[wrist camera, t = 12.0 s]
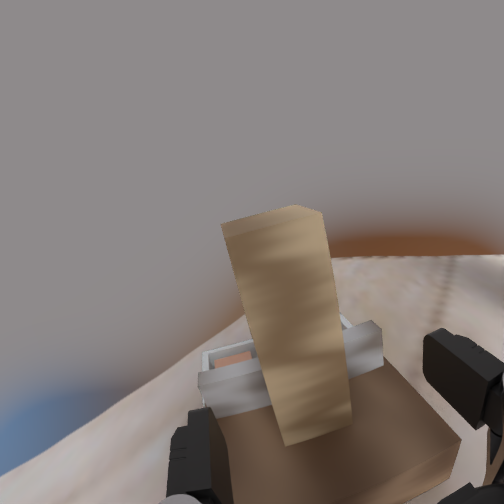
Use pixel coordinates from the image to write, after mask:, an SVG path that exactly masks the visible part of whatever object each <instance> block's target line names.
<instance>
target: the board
mask: <svg viewBox="0 0 504 504" xmlns="http://www.w3.org/2000/svg"><path fill="white" fill-rule="evenodd" d="M383 362H384V365H383V366H381V367H378V368H376V369H374V370H371V371H369V372H366V373H364V374H361V375H359V376H356V377H353V378H351V379H348V380H349V390H350V399H351V409H352V420H353V424H351V425H348V426H346V427H343V428H340V429H338V430H335V431H332V432H329V433H327V434H324V435H321V436H318V437H315V438H312V439H309V440H306V441H302V442H299V443H296V444H293V445H289V446H286V447H285V444H284V441H283V438H282V435H281V432H280V429H279V425H278V422H277V419H276V416H275V413H274V409H273V406H272V405H269V406H266V407H262V408H258V409H255V410H251V411H247V412H243V413H239V414H235V415H231V416H227V417H222V418H218V419H216V420H217V422H218V424H219V426H220V429H221V431H222V433H223V435H224V438H225V441H226V444H227V448H228V456H229V466H230V475H231V484H232V492H233V501H234V504H403V503H405V502H407V501H409V500H411V499H413V498H415V497H416V496H418V495H420V494H422V493H424V492H426V491H428V490H429V489H431V488H433V487H435V486H437V485H438V484H440V483H442V482H443V481H445V480H447V479H448V478H449V477H450V474H451V472H452V469H453V466H454V463H455V460H456V457H457V453H458V450H459V447H460V443H461V439H460V437H459V436H458V435H457V434H456V433H455V432H454V431H453V430H452V429H451V428H450V427H449V425H448V424H447V423H446V422H445V421H444V420H443V419H442V418H441V417H440V416H439V415H438V414H437V412H436V411H435V410H434V409H433V408H432V407H431V406H430V405H429V404H428V403H427V402H426V401H425V400H424V399H423V397H422V396H421V395H420V394H419V393H418V392H417V391H416V390H415V389H414V388H413V387H412V386H411V385H410V384H409V383H408V381H407V380H406V379H405V378H404V377H403V376H402V375H401V374H400V373H399V372H398V371H397V370H396V369H395V368H394V367H393V366H392V365H391V364H390V363H389V361H388V360H387V359H386V358H385V357H384V356H383ZM206 407H207V406H206V403H205V408H206Z"/></svg>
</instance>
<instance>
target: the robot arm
mask: <svg viewBox="0 0 504 504" xmlns="http://www.w3.org/2000/svg"><path fill="white" fill-rule="evenodd" d="M423 373H424V376H425V378H426V380H427V382H428V383H429V384H430V385H431V386H432V387H433V388H434V389H435V390H436V391H437V392H438V393H439V394H440V395H441V396H442V397H443V398H444V399H445V400H446V401H447V402H448V403H449V404H450V405H451V406H452V407H453V408H454V409H455V410H456V411H457V412H458V413H459V414H460V415H461V416H462V417H463V418H464V419H465V420H466V421H467V422H468V423H469V424H470V425H471V426H472V427H473V428H474V429H475V430H477V429H479V428H480V427H482V426H483V425H485V424H487V425H488V426H489V428H488V431H487V463H486V474H485V479H484V482H483V486H480V487H477V488H474V487H473V485H472V484H471V483H470V482H469V483H468V484H466V485H465V486H463V487H462V488H460V489H459V490H457V491H455V492H454V493H452V494H450V495H449V496H447V497H445V498H444V499H442V500H441V501H440V502H439V503H437V504H504V363H503V362H502V361H500V360H499V359H498V358H496V357H495V356H493V355H492V354H490V353H489V352H488V351H486V350H485V351H484V349H483V348H482V347H480V346H479V345H478V346H477V344H476V343H475V342H473V341H472V340H470V339H469V338H467V337H463V336H460V335H453V334H451V333H450V332H449V331H447V330H446V329H444V328H440V329H438V330H436V331H434V332H432V333H430V334H427V335H426V336H425V337H424V340H423ZM170 451H171V452H170V456H169V460H170V461H169V468H168V480H167V493H166V498H165V499H164V500H162V501H161V502H160V503H159V504H234V501H233V492H232V484H231V475H230V466H229V456H228V448H227V444H226V441H225V438H224V435H223V433H222V431H221V429H220V426H219V424H218V422H217V420H216V418H215V415H214V413H213V411H212V409H211V407H206V408H201V409H196V410H191V411H189V412H188V426H183V427H178V428H177V430H176V431H175V433H174V435H173V436H172V438H171V446H170Z"/></svg>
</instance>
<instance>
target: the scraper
mask: <svg viewBox="0 0 504 504" xmlns="http://www.w3.org/2000/svg"><path fill="white" fill-rule="evenodd" d="M221 228H222V231H223V235H224V239H225V242H226V246H227V250H228V253H229V257H230V261H231V264H232V268H233V271H234V275H235V279H236V282H237V286H238V289H239V293H240V296H241V300H242V303H243V307H244V311H245V314H246V318H247V321H248V325H249V328H250V332H251V335H252V339H253V342H254V345H255V349H256V352H257V356H258V357H257V358H253V359H250V360H246V361H243V362H239V363H235V364H231V365H227V366H224V367H220V368H216V369H212V370H207V371H203V372H199V373H198V387H199V390H200V392H201V394H202V397H203V399H204V401H205V403H206V406H207V407H211V409H212V411H213V413H214V415H215V418H216V419H218V418H222V417H227V416H231V415H235V414H239V413H243V412H247V411H251V410H255V409H258V408H262V407H266V406H269V405H272V406H273V409H274V413H275V416H276V419H277V422H278V425H279V429H280V432H281V435H282V438H283V441H284V444H285V447H286V446H289V445H293V444H296V443H299V442H302V441H306V440H309V439H312V438H315V437H318V436H321V435H324V434H327V433H329V432H332V431H335V430H338V429H340V428H343V427H346V426H348V425H351V424H353V420H352V409H351V399H350V390H349V380H348V379H351V378H353V377H356V376H359V375H361V374H364V373H366V372H369V371H371V370H374V369H376V368H378V367H381V366H383V365H384V362H383V343H382V329H381V328H380V327H379V326H378V325H376V324H375V323H374V322H373V321H372V320H370V321H367V322H365V323H362V324H359V325H356V326H354V327H351V328H348V329H345V330H342V326H341V319H340V312H339V306H338V299H337V293H336V287H335V281H334V275H333V269H332V264H331V258H330V253H329V247H328V242H327V237H326V233H325V227H324V222H323V217H322V212H318V211H316V210H312V209H309V208H306V207H303V206H299V205H296V204H295V205H291V206H287V207H283V208H279V209H275V210H272V211H268V212H264V213H260V214H257V215H253V216H249V217H245V218H242V219H238V220H234V221H230V222H227V223H223V224H221Z"/></svg>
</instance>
